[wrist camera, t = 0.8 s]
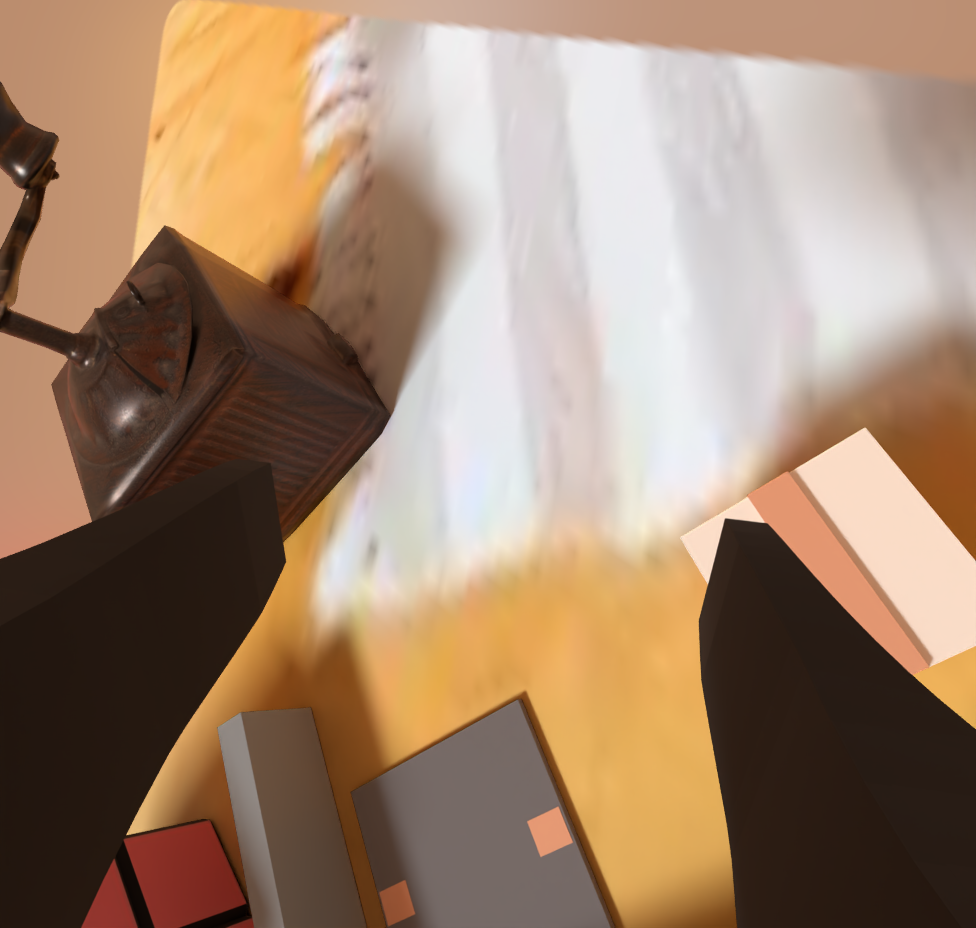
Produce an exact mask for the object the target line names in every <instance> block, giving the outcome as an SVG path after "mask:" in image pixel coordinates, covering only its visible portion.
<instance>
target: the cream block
mask: <svg viewBox="0 0 976 928" xmlns="http://www.w3.org/2000/svg"><path fill="white" fill-rule="evenodd" d="M725 518H728V519H736V520H745V521H753V522H761V523H768V524H769V525H770V526H771V527H772V528H773V529H774V531H775V532H776V533H777V534H778V535H779V536H780V537H781V538H782V539H783V541H784V542H785V543H786V544H787V545H788V546H789V547H790V549H791V550H792V551H793V552H794V553H795V554H796V555H797V557H798V558H799V559H800V560H801V561H802V562H803V563H804V564H805V566H806V567H807V568H808V569H809V570H810V571H811V572H812V573H813V575H814V576H815V577H816V578H817V579H818V580H819V581H820V582H821V583H822V585H823V586H824V587H825V588H826V589H827V590H828V591H829V592H830V593H831V594H832V596H833V597H834V598H835V599H836V600H837V601H838V602H839V603H840V604H841V605H842V606H843V607H844V608H845V609H846V610H847V612H848V613H849V614H850V615H851V616H852V617H853V618H854V619H855V620H856V621H857V622H858V623H859V624H860V625H861V626H862V627H863V628H864V629H865V630H866V631H867V632H868V633H869V634H870V635H871V636H872V637H873V638H874V639H875V640H876V641H877V642H878V643H879V644H880V645H881V646H882V647H883V648H884V649H885V650H886V651H887V652H888V653H890V654H891V655H892V656H893V657H894V658H895V659H896V660H897V661H898V662H899V663H900V664H901V665H902V666H903V667H904V668H905V669H906V670H907V671H908V672H909V673H911V674H912V675H913V674H916V673H918V672H920V671H922V670H924V669H926V668H929V667H931V666H933V665H935V664H937V663H939V662H941V661H944V660H946V659H948V658H950V657H952V656H954V655H957V654H959V653H961V652H963V651H965V650H967V649H970V648H972V647H974V646H976V561H975V560H974V558H973V557H972V556H971V555H970V554H969V552H968V551H967V550H966V549H965V548H964V546H963V545H962V544H961V543H960V541H959V540H958V539H957V538H956V537H955V535H954V534H953V533H952V532H951V531H950V529H949V528H948V527H947V526H946V525H945V523H944V522H943V521H942V520H941V518H940V517H939V516H938V515H937V514H936V512H935V511H934V510H933V509H932V508H931V506H930V505H929V504H928V503H927V502H926V500H925V499H924V498H923V497H922V495H921V494H920V493H919V492H918V491H917V489H916V488H915V487H914V486H913V485H912V483H911V482H910V481H909V480H908V479H907V477H906V476H905V475H904V474H903V472H902V471H901V470H900V469H899V468H898V466H897V465H896V464H895V463H894V462H893V460H892V459H891V458H890V457H889V456H888V454H887V453H886V452H885V451H884V449H883V448H882V447H881V446H880V445H879V443H878V442H877V441H876V440H875V439H874V437H873V436H872V435H871V434H870V433H869V431H868V430H867V429H866V428H863V429H861V430H860V431H858V432H856V433H855V434H853V435H851V436H850V437H848V438H846V439H845V440H843V441H841V442H840V443H838V444H836V445H835V446H833V447H831V448H829V449H828V450H826V451H824V452H823V453H821V454H819V455H818V456H816V457H814V458H813V459H811V460H809V461H808V462H806V463H804V464H803V465H801V466H799V467H797V468H796V469H794V470H792V471H791V472H789V473H788V471H787V472H785V473H783V474H782V475H780V476H778V477H777V478H775V479H773V480H771V481H770V482H768V483H766V484H765V485H763V486H761V487H760V488H758V489H756V490H755V491H753V492H751V493H750V494H748V495H747V498H745V499H744V500H742V501H740V502H739V503H737V504H735V505H734V506H732V507H730V508H728V509H727V510H725V511H723V512H722V513H720V514H718V515H717V516H715V517H713V518H712V519H710V520H708V521H707V522H705V523H703V524H702V525H700V526H698V527H696V528H695V529H693V530H691V531H690V532H688V533H686V534H685V535H683V536H681V537H680V538H681V540H682V542H683V543H684V545H685V547H686V548H687V550H688V552H689V554H690V555H691V557H692V559H693V560H694V562H695V564H696V565H697V567H698V569H699V570H700V572H701V574H702V575H703V577H704V579H705V580H706V582H707V584H708V583H709V579H710V575H711V571H712V567H713V563H714V559H715V555H716V551H717V547H718V543H719V539H720V535H721V532H722V528H723V524H724V520H725Z"/></svg>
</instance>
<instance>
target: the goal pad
mask: <svg viewBox="0 0 976 928" xmlns="http://www.w3.org/2000/svg"><path fill="white" fill-rule="evenodd" d="M351 795H352V799H353V803H354V806H355V810H356V814H357V818H358V821H359V825H360V829H361V832H362V836H363V840H364V844H365V847H366V851H367V855H368V859H369V862H370V866H371V870H372V874H373V877H374V881H375V885H376V889H377V892H378V896H379V900H380V904H381V907H382V911H383V915H384V919H385V922H386V926H387V928H615V926H614V924H613V921H612V919H611V916H610V914H609V911H608V909H607V907H606V904H605V902H604V899H603V897H602V894H601V892H600V890H599V887H598V885H597V882H596V880H595V877H594V875H593V872H592V870H591V868H590V865H589V863H588V860H587V858H586V855H585V853H584V851H583V848H582V846H581V843H580V841H579V838H578V836H577V833H576V831H575V829H574V826H573V824H572V821H571V819H570V816H569V814H568V812H567V809H566V807H565V804H564V802H563V799H562V797H561V795H560V792H559V790H558V787H557V785H556V782H555V780H554V777H553V775H552V773H551V770H550V768H549V765H548V763H547V760H546V758H545V756H544V753H543V751H542V748H541V746H540V743H539V741H538V738H537V736H536V734H535V731H534V729H533V726H532V724H531V721H530V719H529V717H528V714H527V712H526V709H525V707H524V704H523V702H522V699H518V700H516V701H514V702H512V703H510V704H509V705H507V706H505V707H503V708H501V709H499V710H498V711H496V712H494V713H492V714H490V715H489V716H487V717H485V718H483V719H481V720H480V721H478V722H476V723H474V724H472V725H471V726H469V727H467V728H465V729H463V730H462V731H460V732H458V733H456V734H454V735H453V736H451V737H449V738H447V739H445V740H444V741H442V742H440V743H438V744H436V745H435V746H433V747H431V748H429V749H427V750H426V751H424V752H422V753H420V754H418V755H417V756H415V757H413V758H411V759H409V760H408V761H406V762H404V763H402V764H400V765H399V766H397V767H395V768H393V769H391V770H390V771H388V772H386V773H384V774H382V775H381V776H379V777H377V778H375V779H373V780H372V781H370V782H368V783H366V784H364V785H363V786H361V787H359V788H357V789H355V790H354V791H352V792H351Z"/></svg>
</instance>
